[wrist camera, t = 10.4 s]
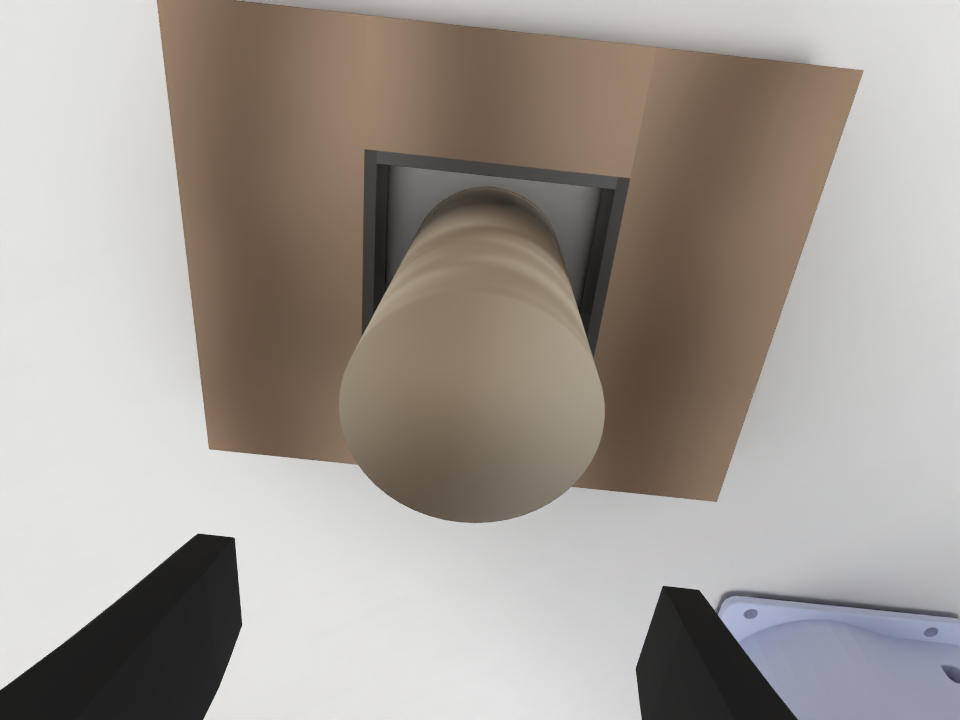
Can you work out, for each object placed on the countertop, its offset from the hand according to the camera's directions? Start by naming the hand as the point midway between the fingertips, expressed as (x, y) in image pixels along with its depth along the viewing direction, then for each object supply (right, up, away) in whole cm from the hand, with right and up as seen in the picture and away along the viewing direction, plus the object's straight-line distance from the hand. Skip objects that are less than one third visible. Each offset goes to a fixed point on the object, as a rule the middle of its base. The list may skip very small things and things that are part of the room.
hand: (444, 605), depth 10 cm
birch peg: (+1, +7, +8) cm, 11 cm away
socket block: (+1, +7, +8) cm, 11 cm away
